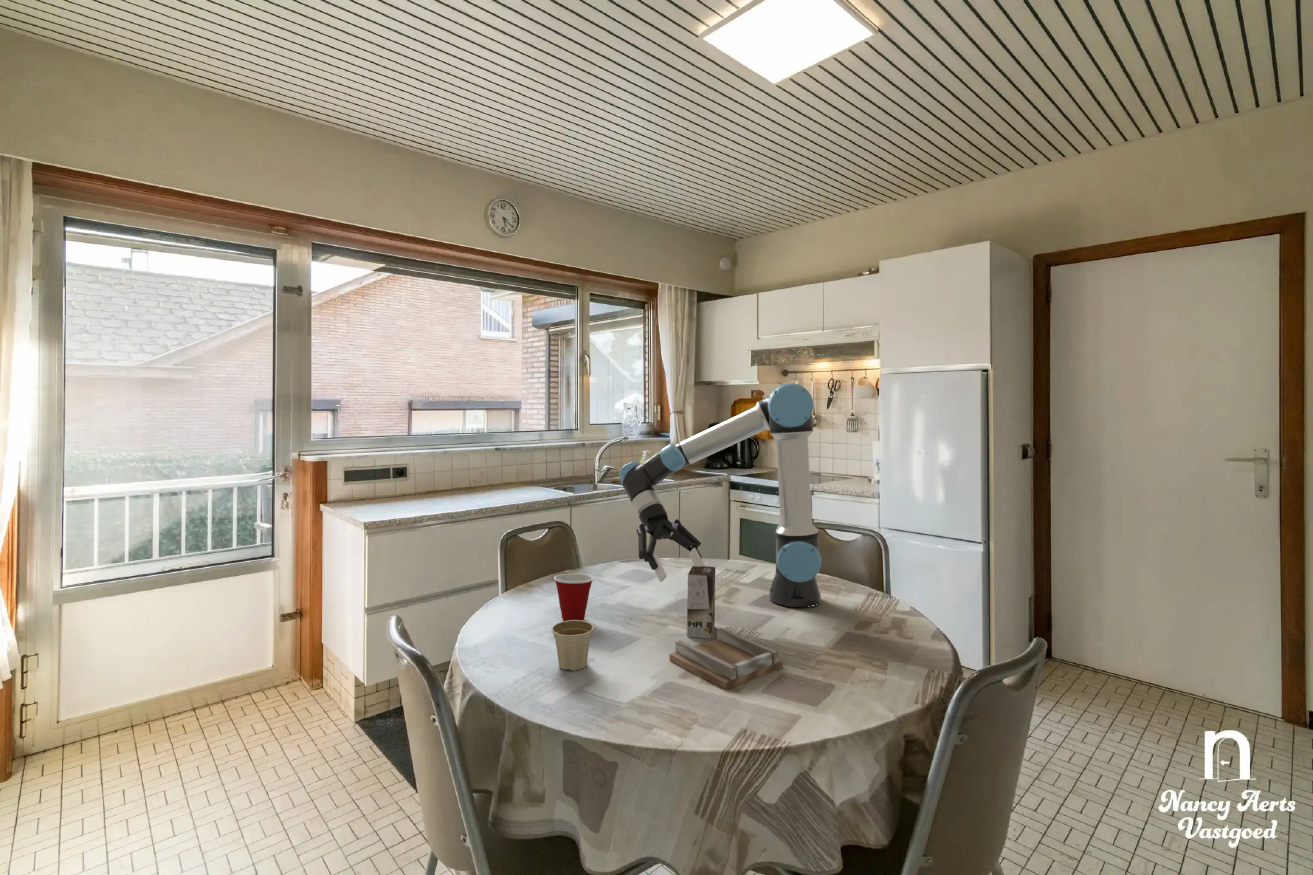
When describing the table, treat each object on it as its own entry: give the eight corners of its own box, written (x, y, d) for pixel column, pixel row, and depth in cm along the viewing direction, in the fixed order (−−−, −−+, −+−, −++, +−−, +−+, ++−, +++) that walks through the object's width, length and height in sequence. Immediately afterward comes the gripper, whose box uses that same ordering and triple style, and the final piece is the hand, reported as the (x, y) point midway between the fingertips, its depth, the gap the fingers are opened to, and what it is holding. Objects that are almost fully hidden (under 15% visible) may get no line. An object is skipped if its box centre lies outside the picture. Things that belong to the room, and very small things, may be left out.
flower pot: (575, 678, 130) (575, 638, 129) (542, 667, 135) (542, 629, 134) (602, 662, 138) (602, 625, 137) (570, 653, 143) (570, 617, 142)
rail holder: (725, 642, 151) (726, 626, 150) (782, 667, 136) (783, 649, 136) (669, 660, 139) (669, 643, 139) (725, 689, 125) (725, 670, 125)
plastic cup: (600, 615, 169) (600, 572, 168) (583, 629, 158) (583, 583, 158) (565, 611, 172) (565, 569, 171) (546, 623, 162) (546, 579, 161)
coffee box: (711, 639, 153) (712, 575, 152) (686, 636, 154) (687, 573, 153) (715, 626, 161) (716, 566, 161) (691, 624, 163) (692, 564, 162)
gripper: (677, 513, 182) (711, 574, 171) (607, 522, 167) (639, 590, 156) (689, 498, 178) (724, 560, 167) (619, 506, 162) (652, 574, 151)
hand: (683, 574), depth 161 cm, fingers open, 13 cm apart
